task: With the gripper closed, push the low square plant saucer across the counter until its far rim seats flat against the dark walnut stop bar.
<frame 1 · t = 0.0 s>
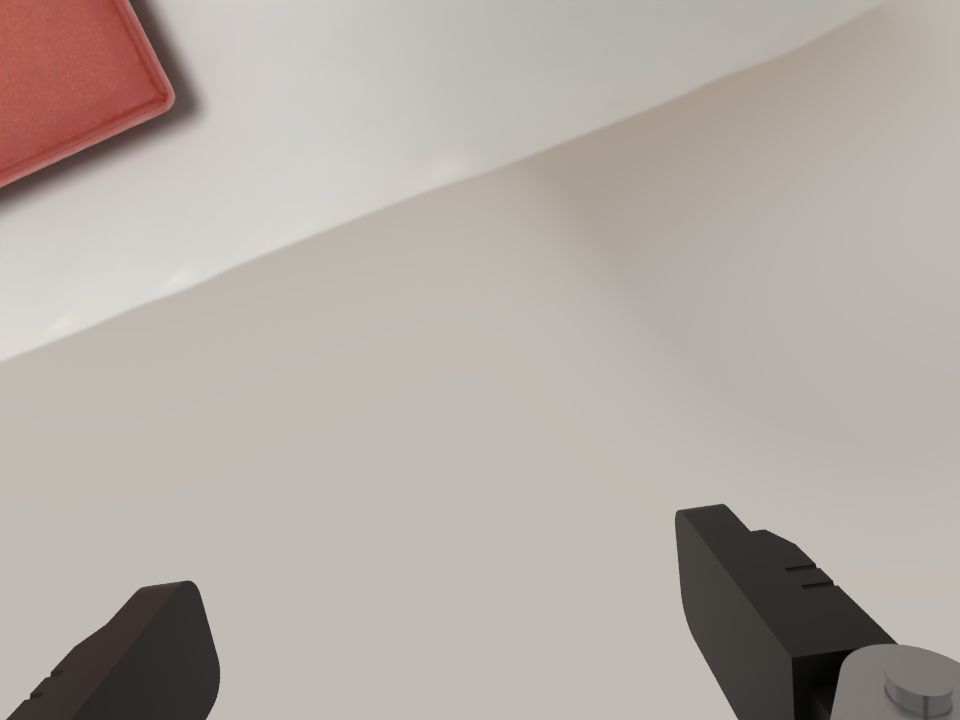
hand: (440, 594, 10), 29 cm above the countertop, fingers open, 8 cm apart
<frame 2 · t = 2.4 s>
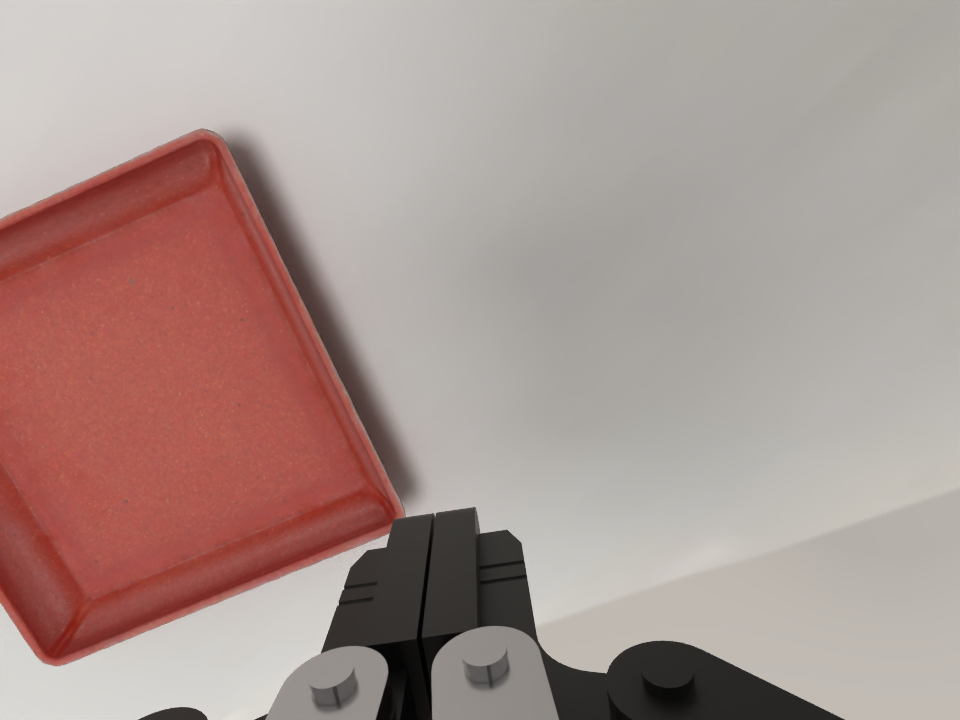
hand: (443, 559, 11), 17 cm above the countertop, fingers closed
plant saucer: (162, 399, 29), on the countertop
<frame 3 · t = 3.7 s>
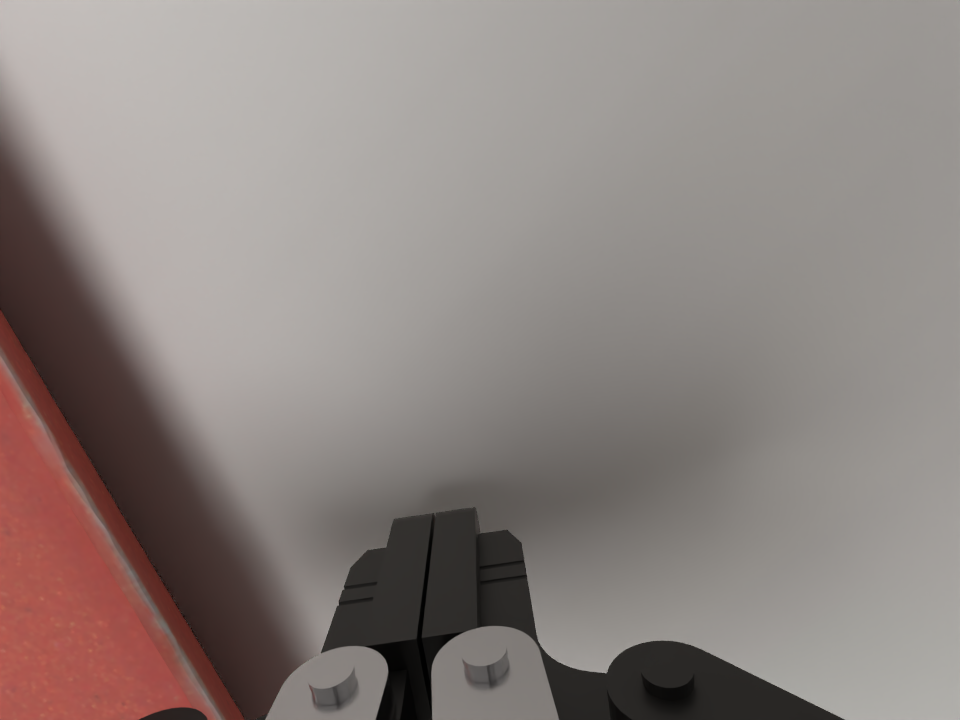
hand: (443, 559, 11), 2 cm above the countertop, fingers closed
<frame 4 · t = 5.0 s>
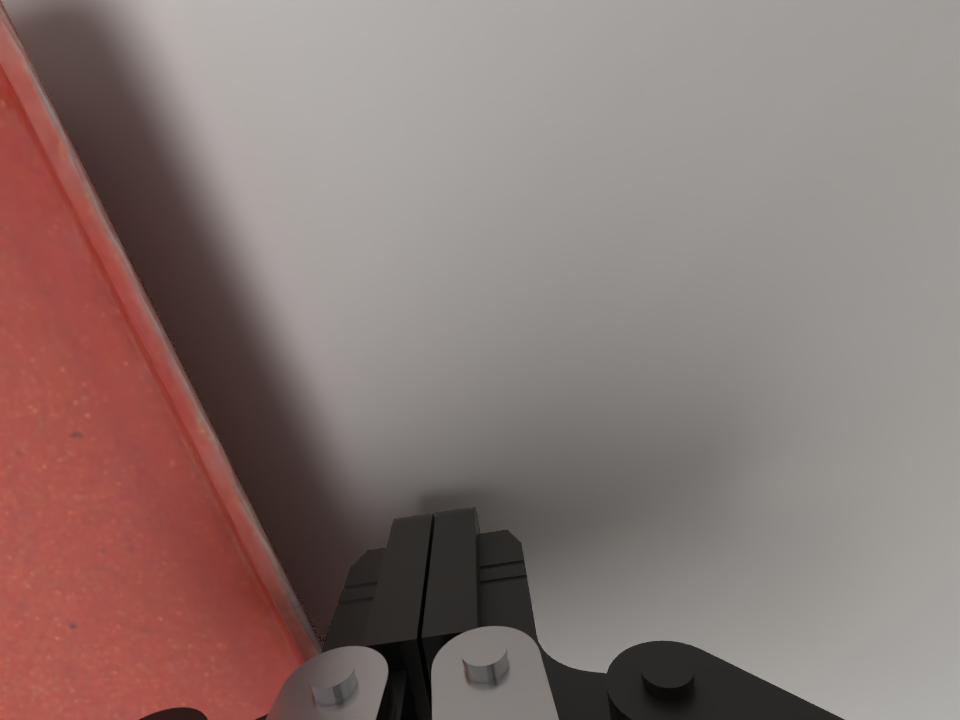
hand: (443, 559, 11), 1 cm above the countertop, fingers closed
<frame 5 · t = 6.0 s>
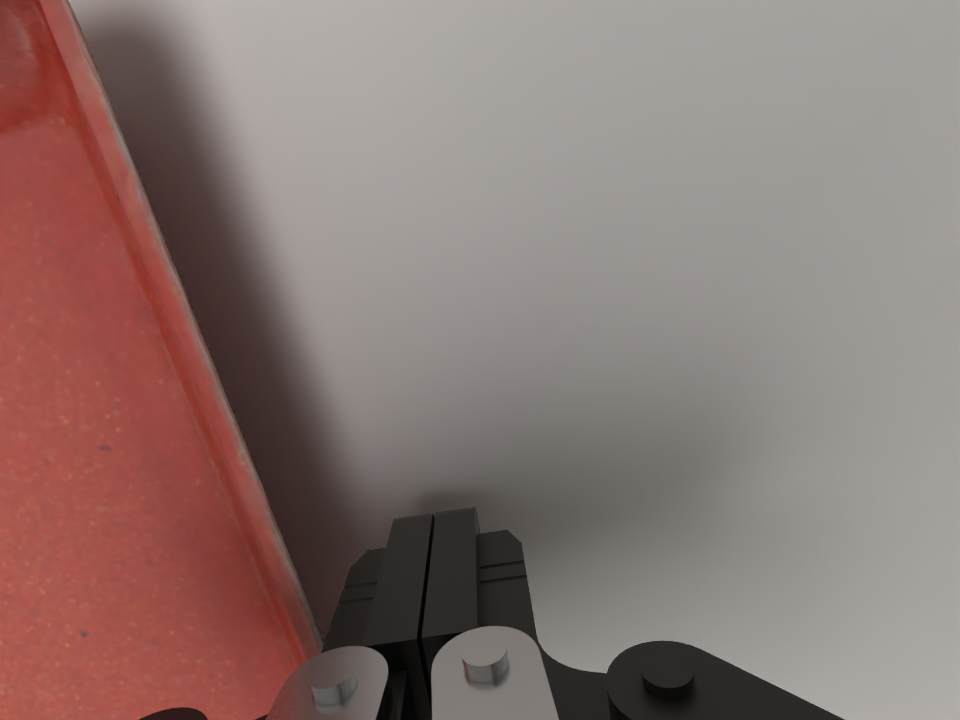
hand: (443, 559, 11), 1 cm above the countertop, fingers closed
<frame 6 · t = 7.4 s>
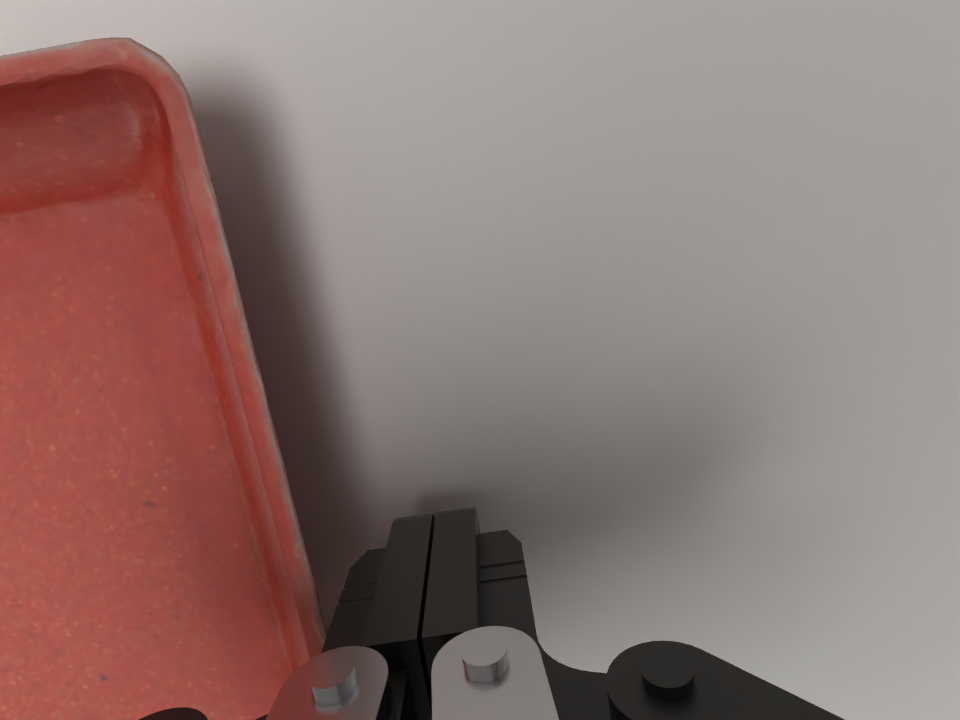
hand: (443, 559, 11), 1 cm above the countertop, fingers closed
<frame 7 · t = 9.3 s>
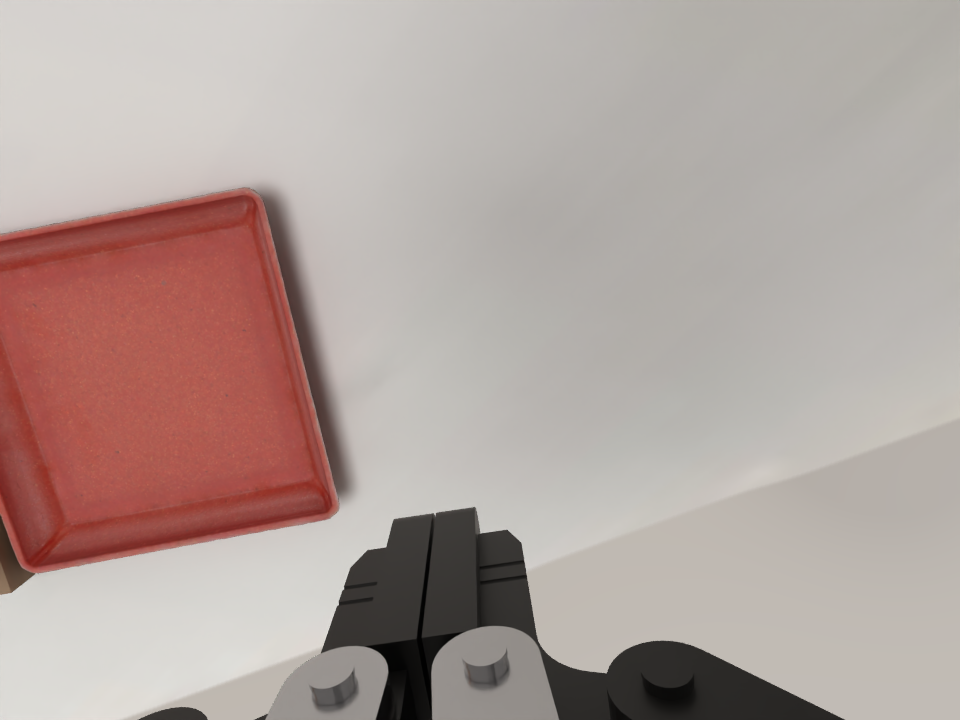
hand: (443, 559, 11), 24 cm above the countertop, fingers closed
plant saucer: (164, 377, 35), on the countertop
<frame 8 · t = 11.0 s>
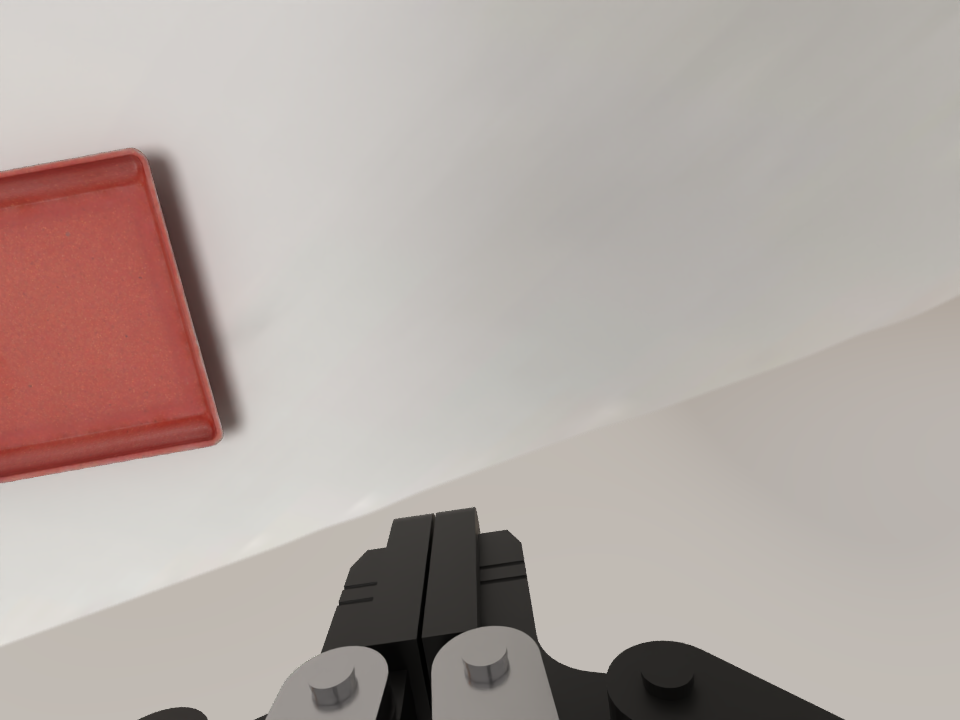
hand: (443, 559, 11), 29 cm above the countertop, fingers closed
plant saucer: (73, 320, 40), on the countertop
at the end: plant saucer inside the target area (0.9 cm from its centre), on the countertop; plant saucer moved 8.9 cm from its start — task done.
